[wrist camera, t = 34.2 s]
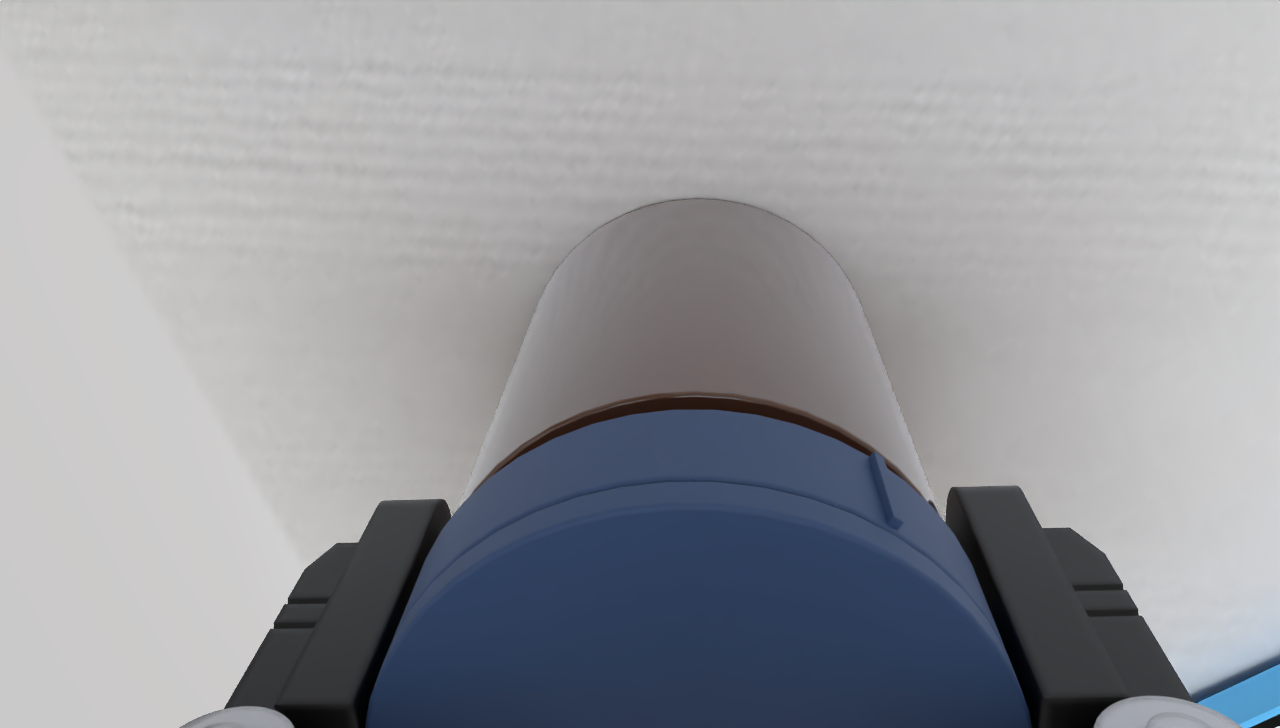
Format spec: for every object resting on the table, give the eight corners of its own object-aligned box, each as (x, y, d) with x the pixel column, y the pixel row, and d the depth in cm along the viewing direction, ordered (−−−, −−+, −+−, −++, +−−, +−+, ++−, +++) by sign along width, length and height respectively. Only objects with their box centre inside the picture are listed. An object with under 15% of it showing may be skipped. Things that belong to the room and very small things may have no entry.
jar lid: (605, 281, 9) (585, 361, 8) (1122, 598, 10) (1195, 723, 9) (314, 720, 11) (254, 849, 10) (765, 944, 13) (774, 1094, 11)
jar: (539, 508, 19) (431, 927, 11) (517, 199, 17) (362, 464, 9) (858, 510, 19) (968, 943, 11) (879, 195, 16) (1035, 466, 9)
